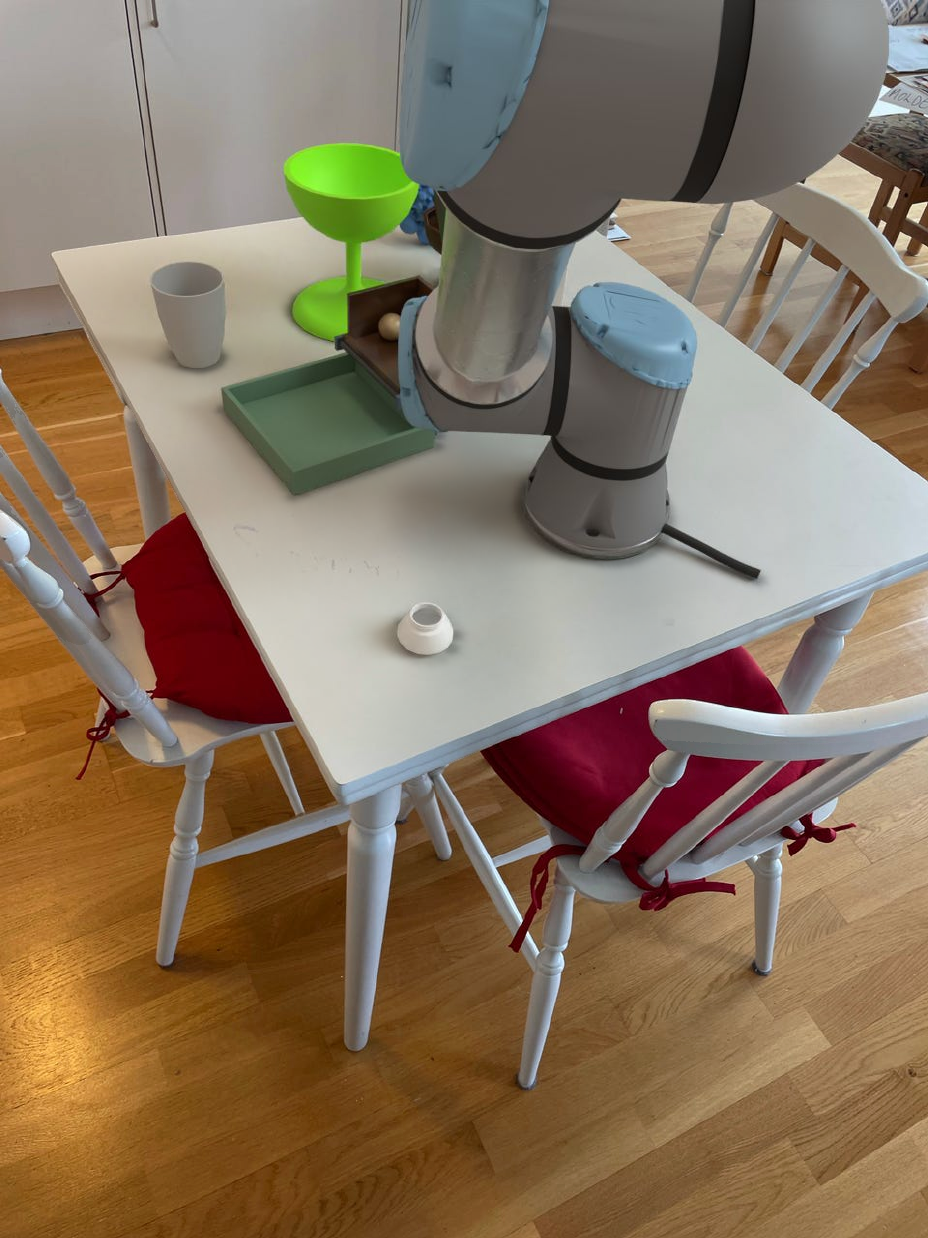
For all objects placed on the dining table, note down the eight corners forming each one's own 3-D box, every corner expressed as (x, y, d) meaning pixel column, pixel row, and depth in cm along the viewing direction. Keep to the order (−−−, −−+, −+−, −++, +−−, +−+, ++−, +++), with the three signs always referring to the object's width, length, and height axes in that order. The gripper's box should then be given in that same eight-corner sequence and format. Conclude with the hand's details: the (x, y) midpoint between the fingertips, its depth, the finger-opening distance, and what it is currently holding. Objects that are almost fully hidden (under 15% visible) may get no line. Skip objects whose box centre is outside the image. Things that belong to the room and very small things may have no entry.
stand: (471, 423, 110) (476, 373, 105) (396, 448, 106) (398, 398, 101) (408, 364, 117) (409, 315, 112) (335, 386, 113) (334, 336, 108)
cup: (215, 332, 119) (206, 255, 112) (244, 364, 115) (236, 286, 107) (152, 348, 115) (138, 270, 108) (180, 382, 111) (167, 302, 104)
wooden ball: (399, 349, 108) (414, 327, 108) (382, 338, 106) (398, 315, 105) (385, 337, 110) (400, 315, 109) (368, 325, 108) (384, 303, 107)
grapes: (400, 261, 135) (403, 175, 126) (384, 240, 139) (385, 155, 131) (476, 252, 139) (483, 167, 130) (458, 231, 143) (463, 148, 134)
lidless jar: (450, 660, 85) (454, 619, 88) (452, 638, 83) (456, 597, 86) (394, 654, 85) (400, 614, 88) (395, 632, 83) (401, 591, 86)
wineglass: (266, 316, 122) (254, 173, 109) (338, 269, 132) (335, 132, 119) (371, 357, 118) (372, 212, 105) (437, 304, 128) (445, 166, 115)
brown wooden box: (474, 376, 107) (480, 323, 102) (395, 401, 102) (396, 347, 97) (417, 325, 113) (419, 274, 108) (339, 347, 108) (338, 294, 104)
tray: (434, 447, 106) (435, 424, 104) (294, 495, 99) (293, 472, 97) (356, 371, 115) (356, 348, 113) (223, 410, 108) (220, 387, 106)
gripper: (522, 55, 95) (498, 278, 112) (410, 70, 90) (403, 303, 107) (568, 80, 91) (536, 307, 108) (454, 97, 86) (439, 334, 103)
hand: (470, 305), depth 108 cm, fingers closed
